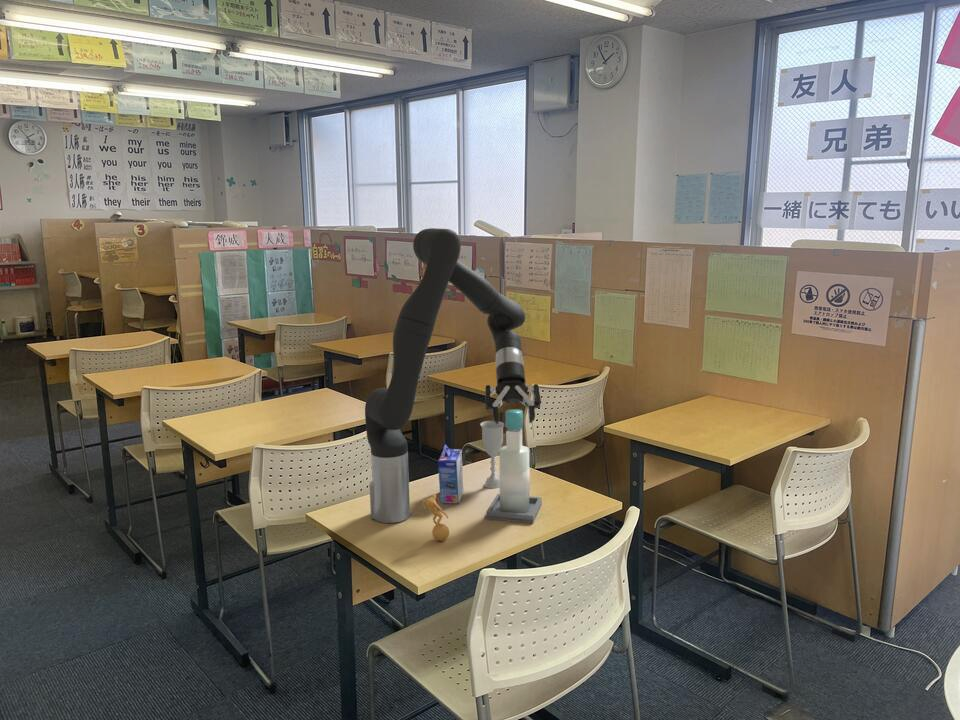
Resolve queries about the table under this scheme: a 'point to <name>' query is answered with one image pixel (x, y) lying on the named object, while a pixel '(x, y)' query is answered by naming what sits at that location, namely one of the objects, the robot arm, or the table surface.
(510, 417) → the pump plunger
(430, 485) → the table surface
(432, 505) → the figurine
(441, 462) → the ink cartridge box
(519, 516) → the pump bottle
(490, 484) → the chalice
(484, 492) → the table surface
